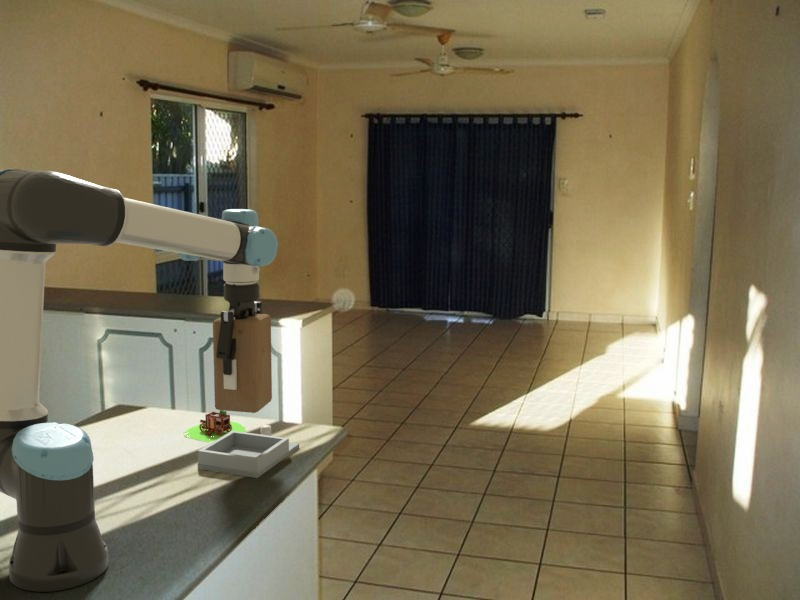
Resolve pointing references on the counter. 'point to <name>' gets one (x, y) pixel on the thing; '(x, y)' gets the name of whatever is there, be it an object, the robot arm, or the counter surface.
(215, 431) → the wagon
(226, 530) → the counter surface
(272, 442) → the open square tray
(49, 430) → the robot arm
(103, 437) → the counter surface
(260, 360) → the wooden block
